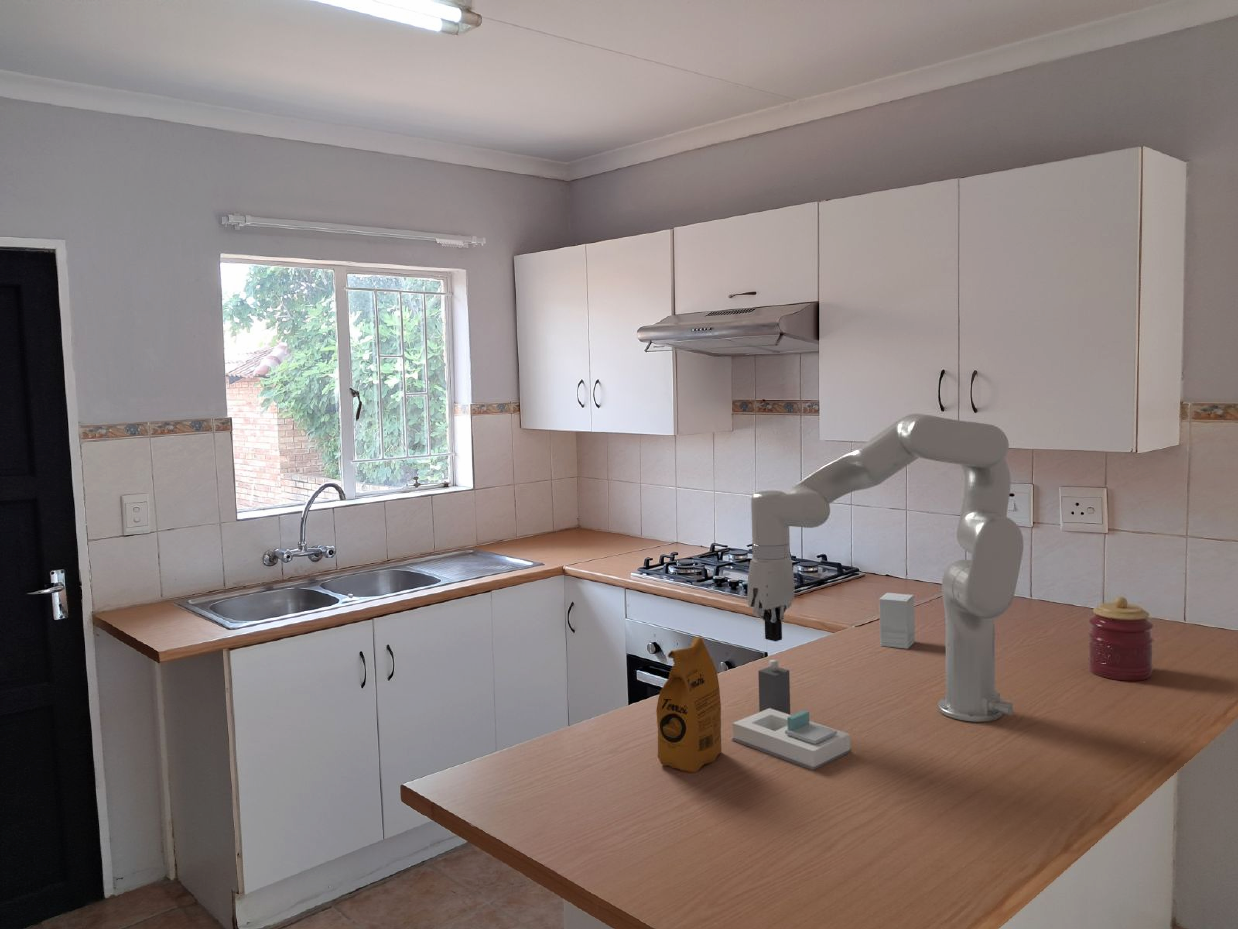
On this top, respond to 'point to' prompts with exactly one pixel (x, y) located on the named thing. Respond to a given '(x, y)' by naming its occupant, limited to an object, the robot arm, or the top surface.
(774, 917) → the top surface
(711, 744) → the coffee package
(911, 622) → the supplement box
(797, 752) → the socket
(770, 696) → the plug
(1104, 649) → the canister
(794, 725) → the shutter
